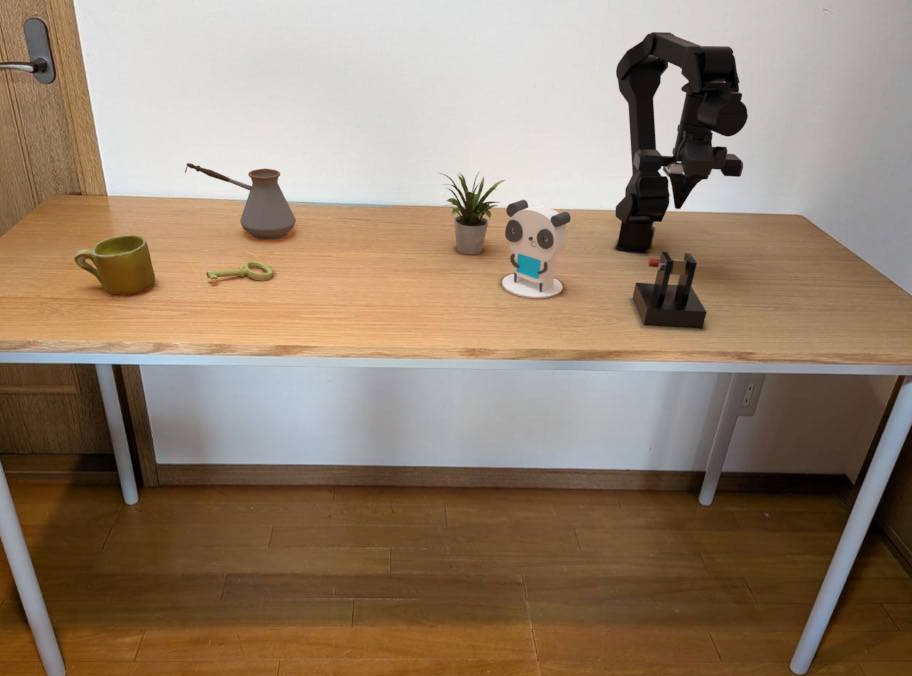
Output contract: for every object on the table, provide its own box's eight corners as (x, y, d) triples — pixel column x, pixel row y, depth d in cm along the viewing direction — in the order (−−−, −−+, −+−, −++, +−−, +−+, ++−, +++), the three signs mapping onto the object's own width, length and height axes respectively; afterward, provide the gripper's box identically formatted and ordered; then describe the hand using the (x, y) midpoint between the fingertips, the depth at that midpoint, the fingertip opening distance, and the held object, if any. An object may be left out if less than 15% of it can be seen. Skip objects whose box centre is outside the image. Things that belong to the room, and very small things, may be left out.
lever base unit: (632, 300, 137) (643, 243, 132) (686, 303, 137) (700, 247, 131) (643, 326, 128) (656, 267, 122) (701, 330, 128) (717, 271, 122)
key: (203, 282, 137) (202, 271, 135) (257, 265, 145) (256, 254, 144) (228, 294, 133) (226, 283, 132) (281, 275, 141) (281, 265, 140)
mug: (170, 264, 138) (145, 220, 130) (157, 302, 132) (130, 258, 124) (108, 272, 140) (80, 230, 132) (93, 310, 133) (63, 268, 126)
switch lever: (647, 269, 137) (649, 255, 136) (677, 270, 136) (679, 257, 136) (661, 273, 127) (663, 259, 126) (694, 275, 127) (696, 261, 126)
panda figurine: (487, 283, 141) (494, 205, 133) (523, 268, 148) (531, 193, 140) (538, 303, 134) (549, 223, 126) (574, 286, 141) (586, 208, 133)
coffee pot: (296, 224, 164) (291, 154, 156) (296, 243, 155) (292, 170, 147) (196, 226, 161) (186, 155, 153) (190, 245, 152) (180, 171, 144)
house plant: (418, 254, 152) (420, 174, 143) (442, 233, 163) (446, 157, 154) (484, 267, 148) (491, 185, 139) (505, 244, 159) (512, 167, 150)
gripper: (653, 130, 127) (636, 219, 136) (763, 136, 127) (739, 225, 135) (641, 116, 137) (625, 200, 145) (743, 122, 136) (722, 206, 145)
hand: (677, 208), depth 142 cm, fingers closed
